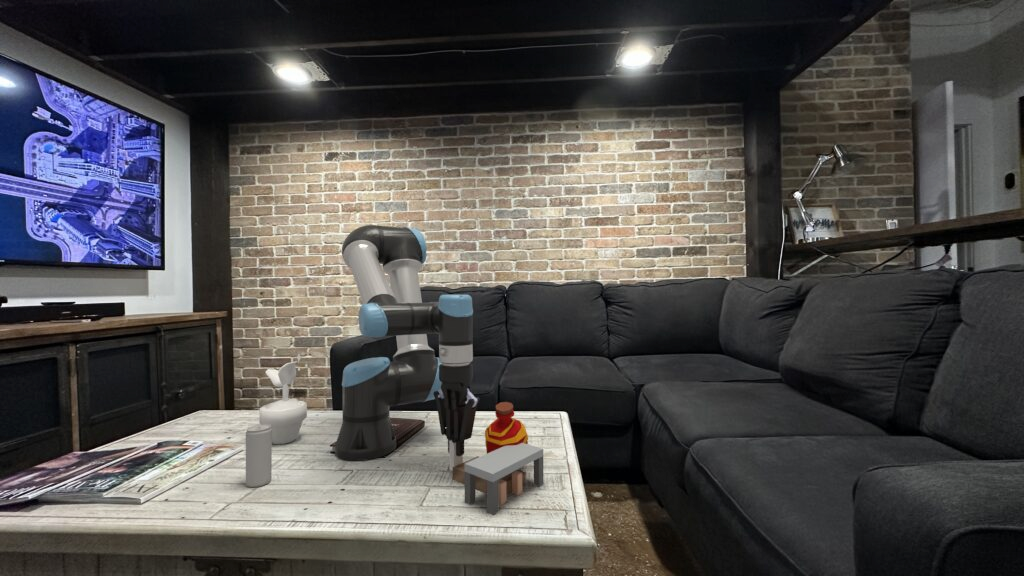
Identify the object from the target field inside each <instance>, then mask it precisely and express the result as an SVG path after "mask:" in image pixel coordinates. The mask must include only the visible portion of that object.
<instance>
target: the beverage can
mask: <svg viewBox="0 0 1024 576" xmlns="http://www.w3.org/2000/svg"><path fill="white" fill-rule="evenodd" d="M270 427H271V425H269V424H260V423H259V424H255V425H251V426H249V427H247V428H246V429H245V430H246V432H245V485H246V486H247V487H249V488H259V487H262V486H265V485H267V484H268V483H270V481H271V480H272V474H273V473H272V467H273V466H272V463H273V462H272V460H273V459H272V458H273V457H272V453H273V452H272V450H273V449H272V446H273V445H272V444H273V443H272V429H271V428H270Z"/></svg>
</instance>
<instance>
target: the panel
mask: <svg viewBox="0 0 1024 576" xmlns="http://www.w3.org/2000/svg"><path fill="white" fill-rule="evenodd" d="M478 457H480V456H476V457H472V458H471V459H469V460H466V461H465V462H464V461H463V463H461V464H459V465H457V466H455V467H453V471H452V480H453V481H455V482H457V483H460V484H462V485H464V486H465V463H467V462H469V461H472V460H474V459H476V458H478ZM515 471H519V472H522V488H523V487H525V486H526V471H523V470H521V471H520V470H515ZM515 471H514V472H515ZM512 473H513V472H512ZM512 473H510V474H508V475H506V476H504V477H502V478H500V479H502V480H504V481H506V497H508V496H510V495H511V494H513V493H512ZM500 479H498V480H500ZM475 480H476V491H479V492H481V493H483V494H486V495H487V480H486V479H483V478H481V477H478V476H475Z"/></svg>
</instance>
